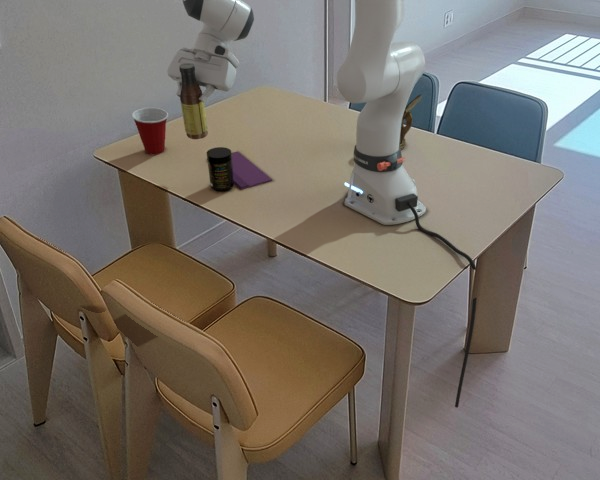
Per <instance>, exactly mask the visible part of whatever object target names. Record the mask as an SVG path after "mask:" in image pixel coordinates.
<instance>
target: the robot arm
mask: <svg viewBox="0 0 600 480" xmlns="http://www.w3.org/2000/svg"><path fill="white" fill-rule="evenodd" d="M182 5H183V7H184V10H185V12H186V14H187V16H188V17H190V18H193V19H195V20H196V21H199V22H201V23H203V24H202V28H201V30H200V31H199V32H198V33H197V36H196V39H195V41H194V44H193V47H192V48H188V47H182V48H180V49H178V50H176V53H175V55H174V56H173V58H172V59H171V61H170V63H169V66H168V67H167V70H166V73H167V76H168V77H169V78H170V79H172V80H173V81H176V82H177V91H176V96H177V97H178V98H180V93H181V88H182V78H181V72H180V69H179V66H180V65H181V64H185V63H192V64H194V66H195V78H196V82H197V83H198V85H199V86H200V87H203V88H205V90H204V91H203V92H202V94H201V93H200V95H199V97H198V100H199V101H200V102H203V103H204V104H206V102H207V101H208V98H209V97H211V95H213V94H214V92H215V90H217V91H221V92H229V91H230V90H231V89H232V88H233V86H234V83H235V80H236V76H237V68H239V65H240V60H238V58H237V57H236V56H235V55H234V53H232V52H231V50H230V43H231V41H233V42H237V41H241V40H244V39H246V38H247V37H248V36H249V33H250V32H251V29H252V26H253V24H254V21H255V14H254V10H253V8H252V7H251V6H250V5H249V4H248V3H247V2H245V1H243V0H182ZM404 17H405V0H354V28H353V33H352V39H351V42H350V46H349V49H348V52H347V55H346V56H345V58H344V60H343V62H342V63H341V65H340V66H339V67H338V69H337V72H336V87H337V90H338V92H339V93H340V95H341V97H342V98H343V99H344V100H345V101H346V102H348V103H349V104H365V105H364V107H363V108H362V109H361V111H360V112H359V114H358V115H357V119H356V135H355V145H354V147H353V162H354V165H353V167H352V171H351V173H350V177H349V183H347V182H344V186H346V187H348V192H347V197H346V198H345V199H344V206H346V207H348V208H350V209H352V210H353V211H355V212H357V213H360V214H361V215H363V216H366V217H367V218H369V219H371V220H373V221H375V222H377V223H379V224H381V225H384V226H392V225H393V226H394V225H399V224H405V223H407V222H410V221H413V220H415V225H416V227H417V229H418V230H420V231H421V232H422V233H424V234H426V235H429V236H432V237H435V238H437V239H438V240H440V241H441V242H442V243H444V244H445V245H446V246H447V247H449V248H450V249H451V250H452V251H453V252H455V253H456V254H457V255H459V256H462V257H463V258H465V259H466V260H467V261H468V263H469V264H470V266H471V269H472V270H473V271H476V270H477V266H476V264H475V262H474V260H473V258H471V256H469V255H468V254H467V253H465V252H464V251H462V250H460V249H458V248H457V247H456V246H454V244H452V243H451V242H450V241H449V240H447V239H446V237H445V238H444V236H442V235H441V234H439V233H437V232H434V231H431V230H428V229H425V228H424V227H422V225H421V223H420V217H421V216H423V215H425V213H426V212H427V207H426V206H425V205H424V204H423V202H421V201H420V200H419V196H418V189H417V186H416V185H417V183H416V179H414V178H411V177H410V175H409V174H408V172H407V170H406V168H405V167H404V165H403V163H404V162H406V160H405V159H406V156H404V157H403V156H402V149H401V150H400V147H399V141H400V131H401V123H402V118H403V114H404V111H405V108H406V106H407V105H408V102H409V100H410V97H411V94H412V93H413V90H414V88H415V86H416V84H417V83H418V81H419V80H420V79H421V77H422V76H423V75H424V72H425V69H426V58H425V54H424V52H423V50H422V49H421V47H420V46H419V45H418V44H416V43H415V42H412V41H395V42H394V38H395V36H396V33H397V31H398V30H399V28H400V27H401V25H402V23H403V21H404ZM477 298H478V297H474V298H472V302H471V303H472V304H471V315H470V322H469V329H468V334H467V335H468V336H467V341H466V346H465V351H464V357H463V361H462V366H461V371H460V377H459V381H458V386H457V392H456V398H455V403H454V407H455V408H459V404H460V398H461V393H462V388H463V383H464V377H465V373H466V369H467V368H466V367H467V364H468V358H469V353H470V349H471V343H472V338H473V333H474V326H475V321H476V320H475V319H476V311H477Z"/></svg>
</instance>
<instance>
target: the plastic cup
mask: <svg viewBox="0 0 600 480" xmlns="http://www.w3.org/2000/svg"><path fill="white" fill-rule="evenodd" d="M131 117H132V119H133V121H134V123H135V126H136V129H137V131H138V134H139V137H140V141H141V143H142V145H143V148H144V151H145V152H146V154H149V155H159V154H162V153H164V151H165V148H166V129H167V120H168V118H169V113H168V111H167V110H165V109H163V108H159V107H141V108H138V109H136V110H134V111H133V112H132V113H131Z"/></svg>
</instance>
